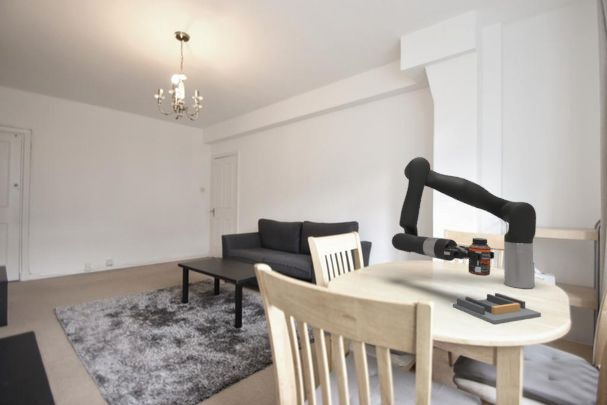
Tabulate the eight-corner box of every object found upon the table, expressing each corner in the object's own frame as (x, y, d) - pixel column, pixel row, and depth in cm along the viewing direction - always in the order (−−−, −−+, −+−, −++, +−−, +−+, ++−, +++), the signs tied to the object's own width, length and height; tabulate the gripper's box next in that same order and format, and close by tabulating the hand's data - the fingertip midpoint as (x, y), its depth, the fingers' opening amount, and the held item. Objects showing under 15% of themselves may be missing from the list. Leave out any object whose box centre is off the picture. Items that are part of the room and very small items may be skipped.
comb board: (495, 300, 97) (495, 292, 97) (540, 316, 84) (540, 305, 84) (452, 306, 92) (452, 297, 92) (494, 324, 78) (494, 313, 78)
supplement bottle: (482, 277, 89) (483, 240, 89) (464, 272, 94) (464, 237, 94) (494, 275, 91) (494, 239, 91) (475, 270, 97) (476, 236, 97)
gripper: (426, 239, 102) (473, 245, 87) (452, 237, 109) (500, 243, 94) (426, 260, 102) (473, 270, 87) (452, 257, 109) (500, 266, 94)
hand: (487, 256), depth 90 cm, fingers closed on supplement bottle, 6 cm apart
